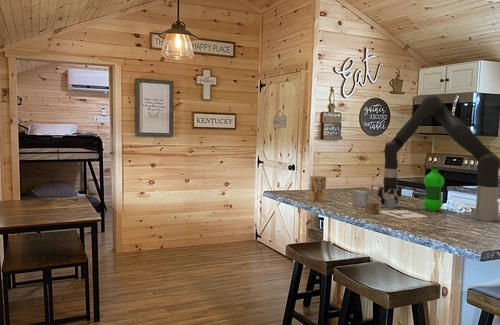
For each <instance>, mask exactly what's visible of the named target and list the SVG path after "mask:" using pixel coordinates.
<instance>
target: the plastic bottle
mask: <svg viewBox="0 0 500 325" xmlns="http://www.w3.org/2000/svg"><path fill="white" fill-rule="evenodd" d="M430 170H431V171H430V173H428V174H427V175H425V176H424V178H423V184H424V185H425V197H424V199H423V202H422V204H423V206H424V208H425V209H427V211H430V212H438V211H439V210H440V209H442V206H443V202H442V187H443V186H444V185H445V177H443V176H442V174H440V173H439V171H438V170H440V166H439V165H430Z"/></svg>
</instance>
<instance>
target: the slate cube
mask: <svg viewBox="0 0 500 325" xmlns="http://www.w3.org/2000/svg"><path fill="white" fill-rule="evenodd" d="M382 207H383V208H387V209H393V208H394V209H395V208H396V207H397V204H396V200H395V199H394V198H385V205H382Z"/></svg>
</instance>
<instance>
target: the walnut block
mask: <svg viewBox="0 0 500 325" xmlns="http://www.w3.org/2000/svg"><path fill="white" fill-rule="evenodd" d="M379 211H380V202H376V201H368V202H366V203H365V207H364V213H366V214H369V215H378V214H379V213H380V212H379Z"/></svg>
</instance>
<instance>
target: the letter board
mask: <svg viewBox="0 0 500 325" xmlns="http://www.w3.org/2000/svg"><path fill="white" fill-rule="evenodd" d="M379 213H382V214H385V215H388V216H392V217H395V218H397V219H413V218H427V217H429V216H428V215H425V214H421V213H418V212H413V211H410V210H407V209H400V210H396V209H395V210H379Z"/></svg>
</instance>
